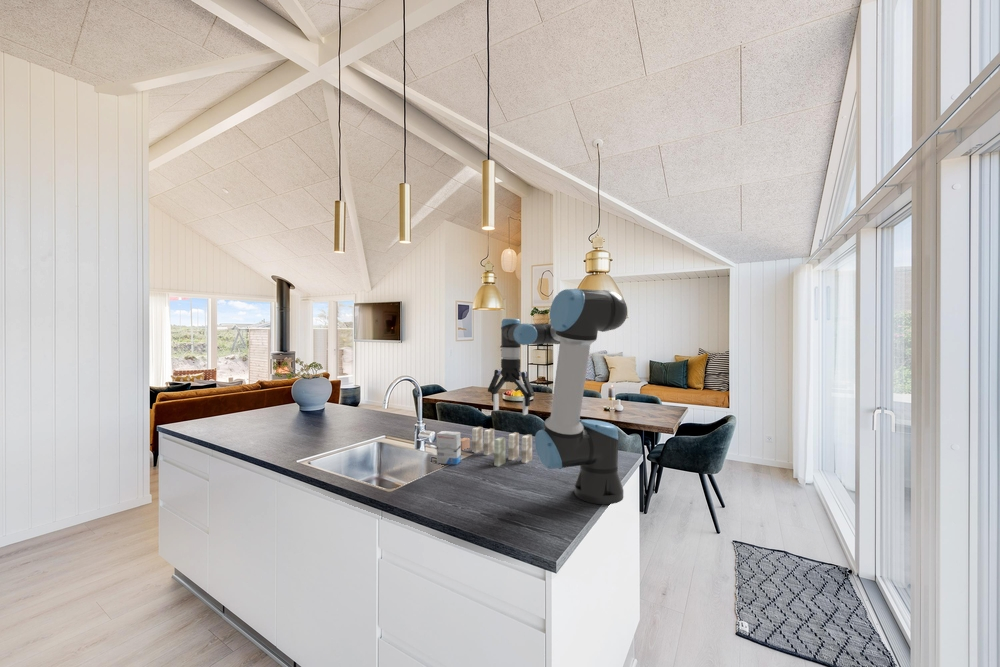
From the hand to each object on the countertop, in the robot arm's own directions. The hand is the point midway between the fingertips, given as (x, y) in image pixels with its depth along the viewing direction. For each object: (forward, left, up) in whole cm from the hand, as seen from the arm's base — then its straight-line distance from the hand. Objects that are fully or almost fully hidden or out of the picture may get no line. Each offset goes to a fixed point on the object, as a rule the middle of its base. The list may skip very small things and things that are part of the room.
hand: (510, 412), depth 162 cm
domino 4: (+5, +1, -20) cm, 20 cm away
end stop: (+5, +27, -20) cm, 34 cm away
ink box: (-13, +20, -20) cm, 31 cm away
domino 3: (-4, +2, -20) cm, 20 cm away
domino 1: (+5, +19, -20) cm, 28 cm away
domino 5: (+5, -5, -20) cm, 21 cm away
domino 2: (+5, +13, -20) cm, 24 cm away
